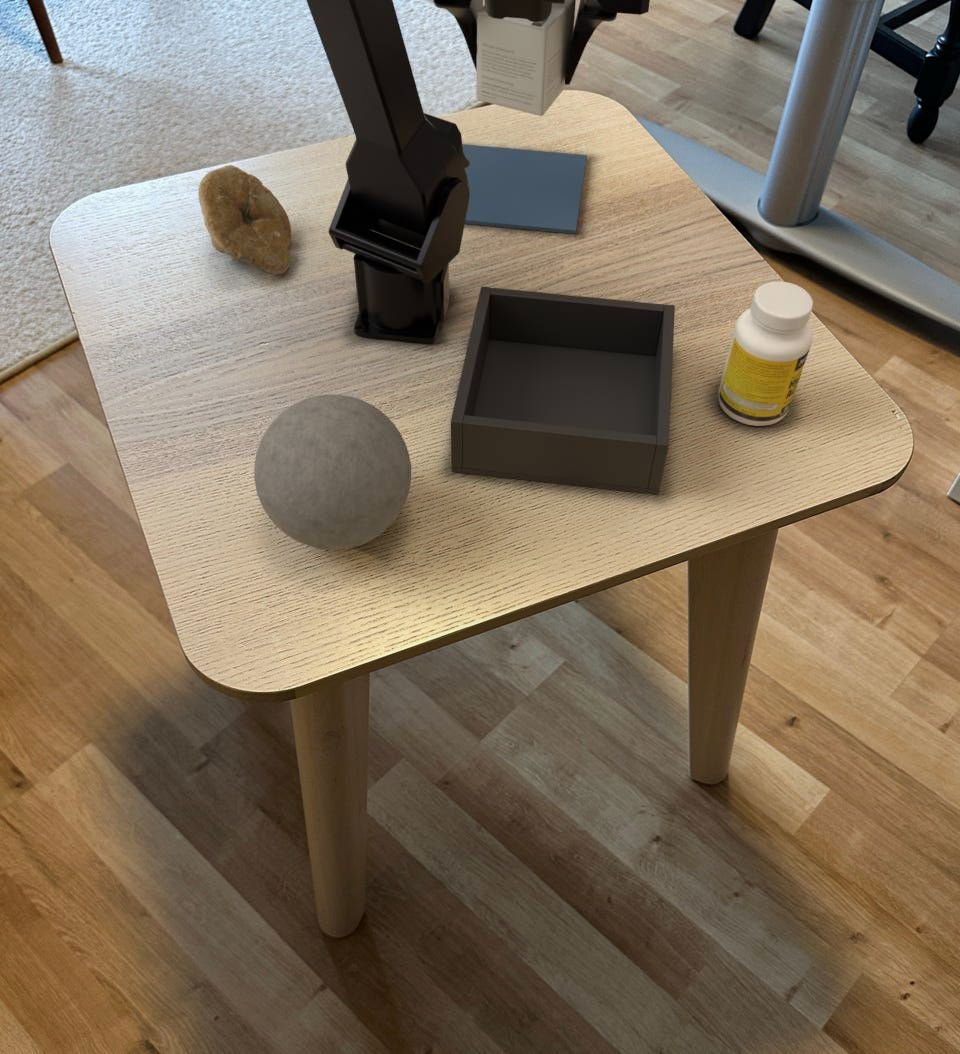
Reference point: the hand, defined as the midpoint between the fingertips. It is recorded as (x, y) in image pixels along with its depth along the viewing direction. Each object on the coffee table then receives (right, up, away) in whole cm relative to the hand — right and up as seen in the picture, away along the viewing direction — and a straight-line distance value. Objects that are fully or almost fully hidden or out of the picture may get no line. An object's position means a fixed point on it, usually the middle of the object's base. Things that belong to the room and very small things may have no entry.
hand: (524, 78), depth 88 cm
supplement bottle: (+17, -28, -7) cm, 33 cm away
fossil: (-23, -14, +4) cm, 27 cm away
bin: (+3, -28, -8) cm, 29 cm away
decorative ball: (-13, -37, -15) cm, 42 cm away
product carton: (0, -1, +1) cm, 1 cm away
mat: (0, -6, +10) cm, 12 cm away
